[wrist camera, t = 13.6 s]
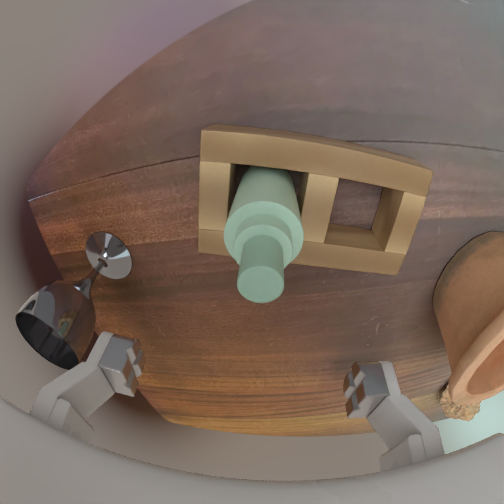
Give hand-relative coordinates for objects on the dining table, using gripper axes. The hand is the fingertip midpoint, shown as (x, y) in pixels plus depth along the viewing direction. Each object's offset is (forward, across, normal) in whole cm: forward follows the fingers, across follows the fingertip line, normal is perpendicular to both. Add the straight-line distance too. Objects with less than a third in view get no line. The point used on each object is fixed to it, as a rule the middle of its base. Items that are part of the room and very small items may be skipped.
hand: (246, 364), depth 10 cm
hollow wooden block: (+20, -5, 0) cm, 20 cm away
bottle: (+20, 0, 0) cm, 20 cm away
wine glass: (+20, +18, +11) cm, 29 cm away
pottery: (+20, -33, +8) cm, 39 cm away
